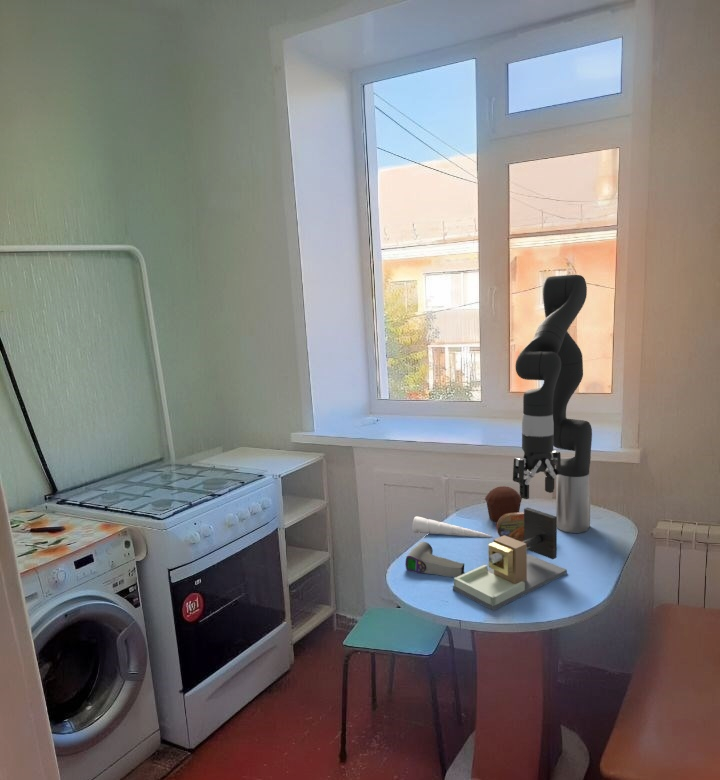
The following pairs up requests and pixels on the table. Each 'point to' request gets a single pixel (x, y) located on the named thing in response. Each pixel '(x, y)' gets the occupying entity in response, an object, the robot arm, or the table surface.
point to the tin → (511, 526)
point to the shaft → (537, 534)
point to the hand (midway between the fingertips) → (537, 495)
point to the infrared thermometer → (431, 562)
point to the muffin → (502, 502)
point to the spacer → (508, 558)
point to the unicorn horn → (442, 528)
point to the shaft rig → (507, 577)
